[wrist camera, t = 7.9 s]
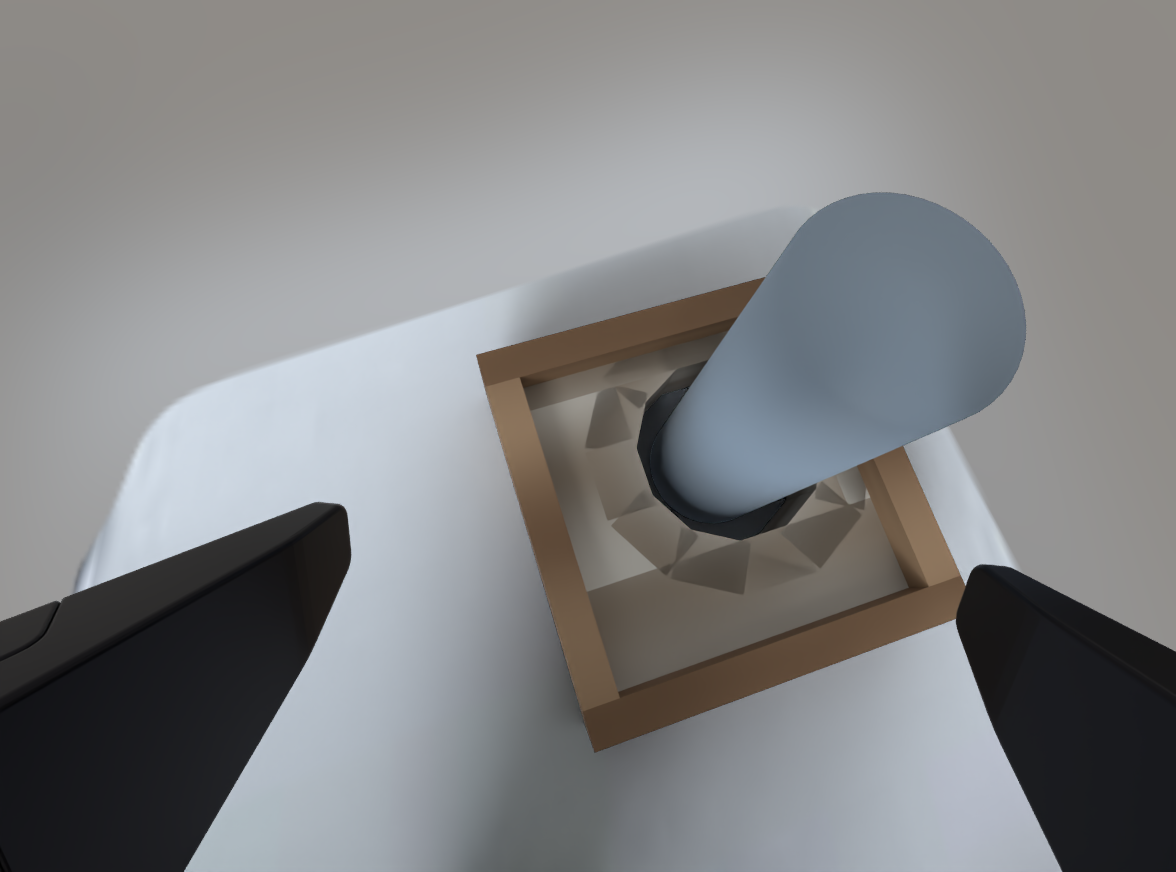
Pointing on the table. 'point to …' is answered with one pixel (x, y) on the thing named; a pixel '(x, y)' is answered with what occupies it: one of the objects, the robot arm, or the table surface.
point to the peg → (844, 356)
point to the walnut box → (694, 534)
